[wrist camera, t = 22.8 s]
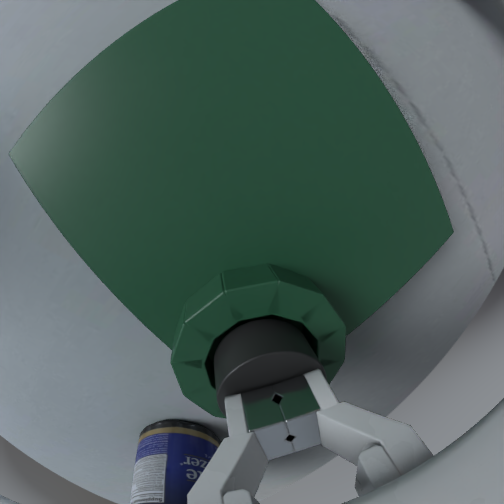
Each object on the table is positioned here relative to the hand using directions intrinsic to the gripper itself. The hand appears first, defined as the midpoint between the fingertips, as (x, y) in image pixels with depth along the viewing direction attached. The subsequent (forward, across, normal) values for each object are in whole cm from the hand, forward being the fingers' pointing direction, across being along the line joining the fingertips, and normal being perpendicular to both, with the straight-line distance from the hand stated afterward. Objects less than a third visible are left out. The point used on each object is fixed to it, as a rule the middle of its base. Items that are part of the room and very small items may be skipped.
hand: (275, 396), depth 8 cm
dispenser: (+7, -2, -6) cm, 9 cm away
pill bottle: (+7, +8, +10) cm, 14 cm away
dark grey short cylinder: (+2, 0, 0) cm, 2 cm away
